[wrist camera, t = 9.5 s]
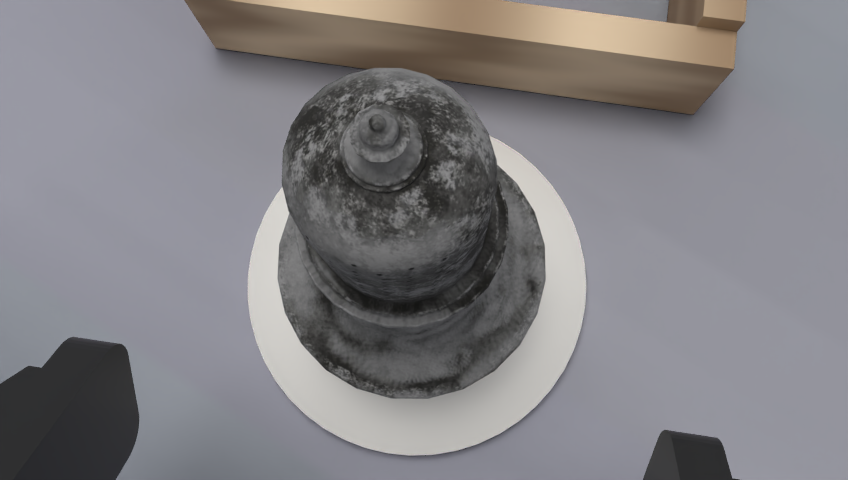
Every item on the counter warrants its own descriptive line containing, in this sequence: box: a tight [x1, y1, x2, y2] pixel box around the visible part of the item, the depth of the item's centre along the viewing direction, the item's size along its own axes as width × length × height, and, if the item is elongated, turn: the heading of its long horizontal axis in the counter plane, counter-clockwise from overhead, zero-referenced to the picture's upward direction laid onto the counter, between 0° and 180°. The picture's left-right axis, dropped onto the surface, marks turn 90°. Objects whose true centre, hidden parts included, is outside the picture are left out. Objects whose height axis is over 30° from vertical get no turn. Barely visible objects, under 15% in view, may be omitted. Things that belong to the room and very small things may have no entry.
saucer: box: [248, 136, 586, 456], centre depth 20 cm, size 9×9×1 cm
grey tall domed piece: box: [277, 68, 546, 399], centre depth 14 cm, size 6×6×12 cm
